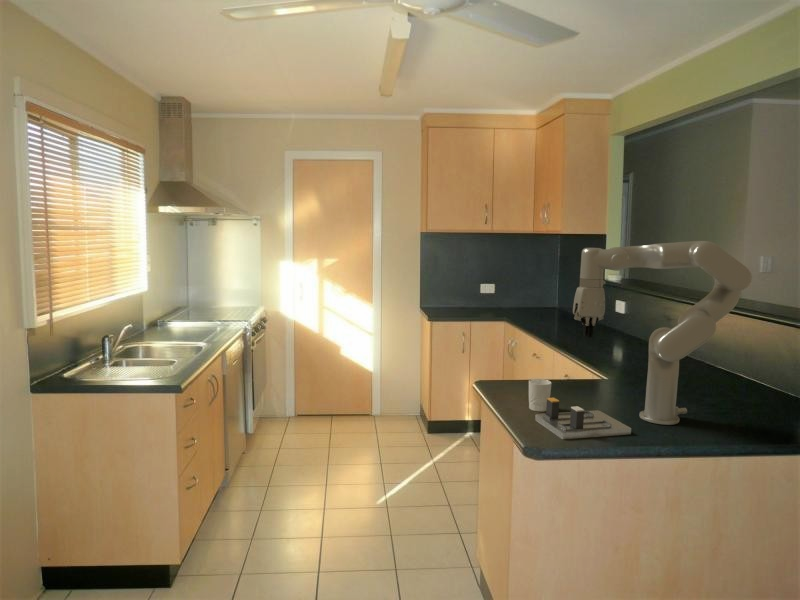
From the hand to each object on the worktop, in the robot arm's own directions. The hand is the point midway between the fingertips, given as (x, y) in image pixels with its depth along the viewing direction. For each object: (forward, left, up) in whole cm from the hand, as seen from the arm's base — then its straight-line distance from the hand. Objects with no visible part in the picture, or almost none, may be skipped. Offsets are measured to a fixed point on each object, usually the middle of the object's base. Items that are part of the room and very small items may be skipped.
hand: (587, 336), depth 204 cm
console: (+9, +14, -27) cm, 32 cm away
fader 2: (+14, +19, -25) cm, 34 cm away
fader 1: (+17, +9, -25) cm, 32 cm away
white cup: (+14, -6, -27) cm, 31 cm away
